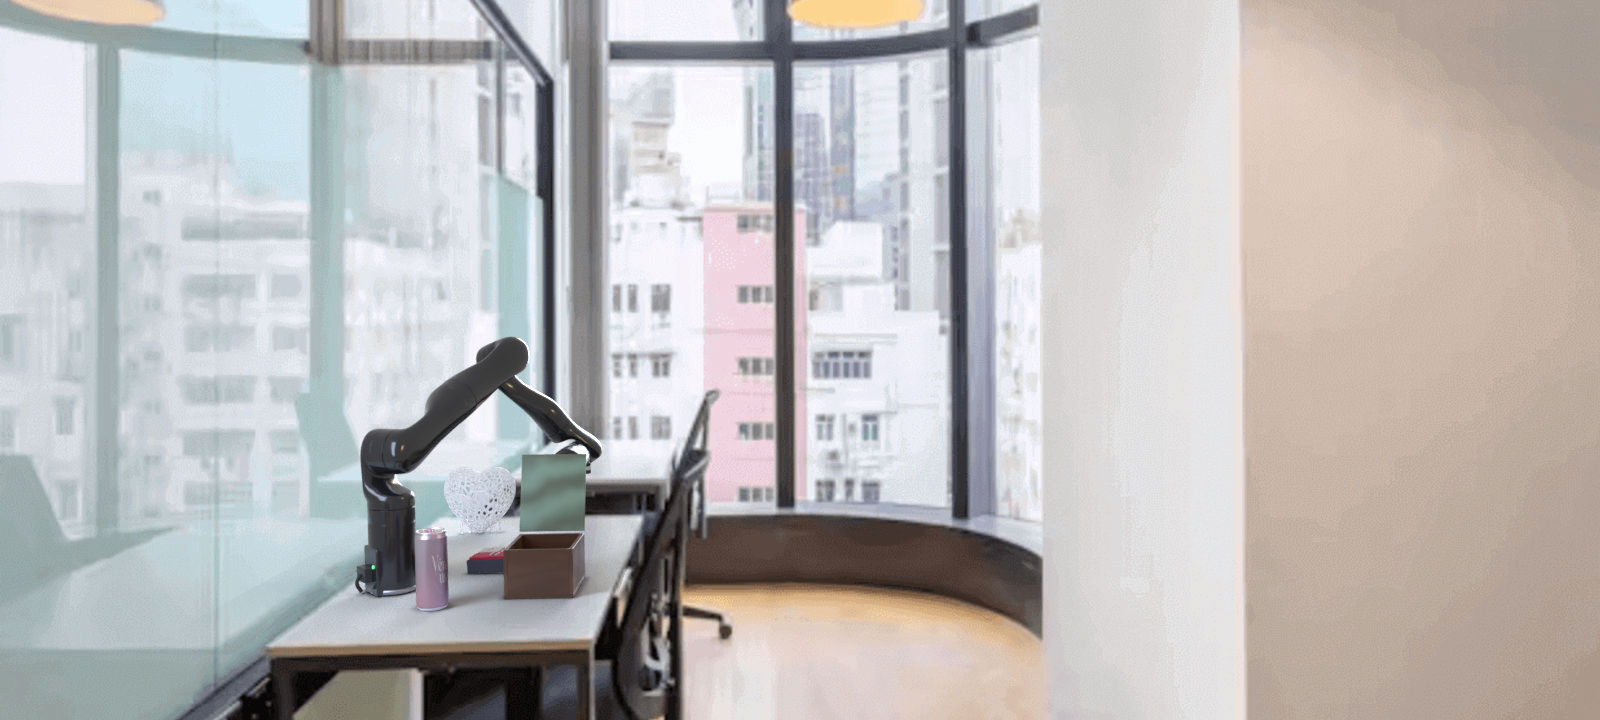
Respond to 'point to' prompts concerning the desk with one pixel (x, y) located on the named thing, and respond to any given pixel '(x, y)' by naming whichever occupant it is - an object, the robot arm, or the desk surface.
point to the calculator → (486, 561)
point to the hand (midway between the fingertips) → (556, 474)
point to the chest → (544, 566)
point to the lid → (553, 492)
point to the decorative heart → (479, 496)
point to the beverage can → (431, 569)
